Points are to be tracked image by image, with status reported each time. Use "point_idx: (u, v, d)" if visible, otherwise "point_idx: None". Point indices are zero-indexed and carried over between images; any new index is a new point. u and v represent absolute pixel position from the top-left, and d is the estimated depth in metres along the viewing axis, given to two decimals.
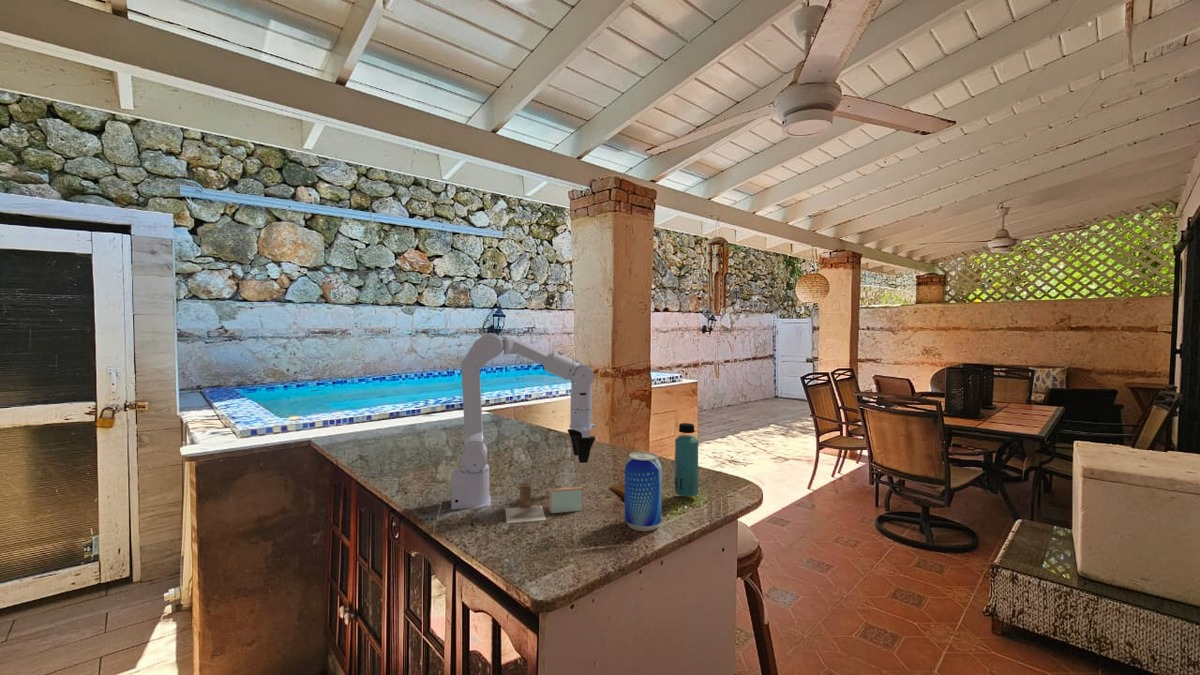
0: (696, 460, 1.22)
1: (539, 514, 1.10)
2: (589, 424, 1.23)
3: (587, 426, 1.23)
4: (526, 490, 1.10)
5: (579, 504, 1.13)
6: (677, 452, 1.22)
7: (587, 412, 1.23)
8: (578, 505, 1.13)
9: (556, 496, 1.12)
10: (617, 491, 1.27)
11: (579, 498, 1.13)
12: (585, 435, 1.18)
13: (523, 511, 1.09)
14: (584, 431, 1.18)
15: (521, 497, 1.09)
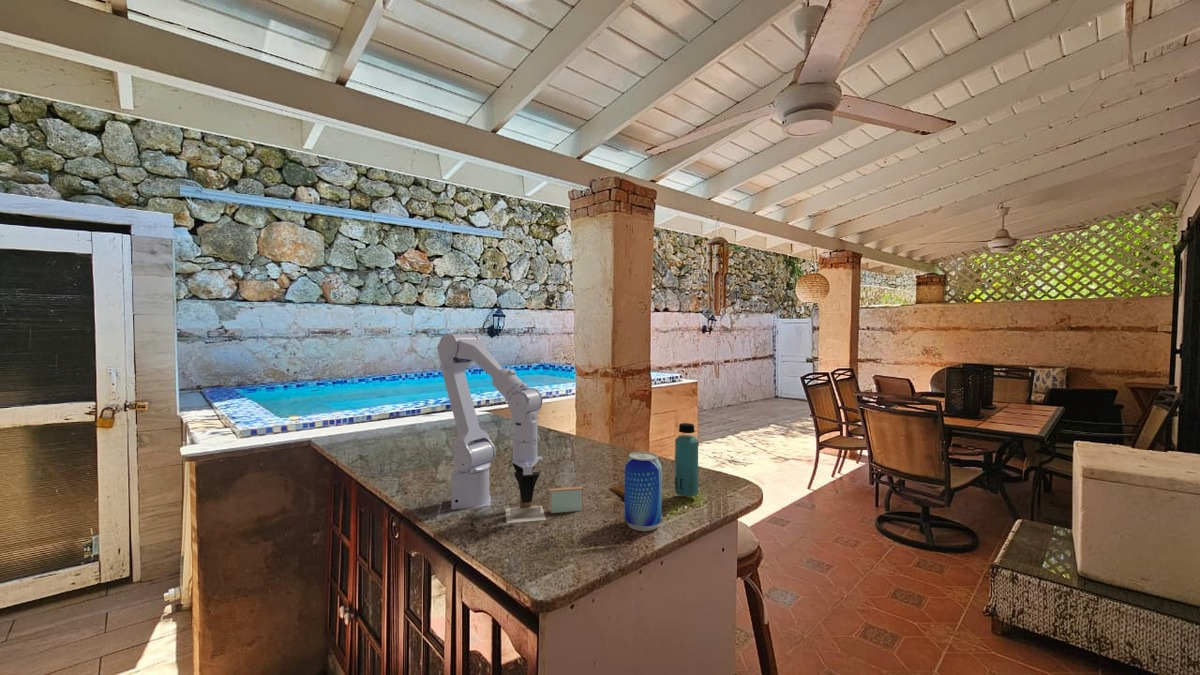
0: (696, 460, 1.22)
1: (539, 514, 1.10)
2: (534, 458, 1.09)
3: (531, 460, 1.08)
4: None
5: (579, 504, 1.13)
6: (677, 452, 1.22)
7: (531, 444, 1.09)
8: (578, 505, 1.13)
9: (556, 496, 1.12)
10: (617, 492, 1.27)
11: (579, 498, 1.13)
12: (526, 472, 1.04)
13: (523, 511, 1.09)
14: (525, 468, 1.04)
15: None
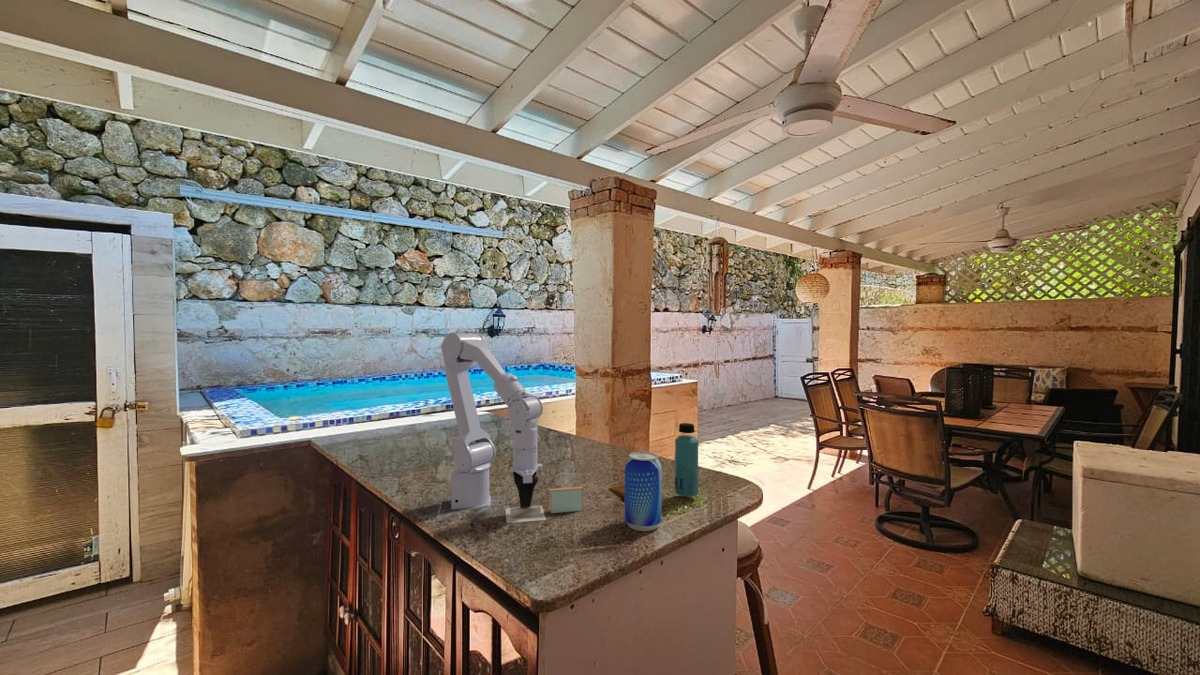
0: (696, 460, 1.22)
1: (539, 514, 1.10)
2: (534, 465, 1.09)
3: (531, 468, 1.08)
4: None
5: (579, 504, 1.13)
6: (677, 452, 1.22)
7: (531, 452, 1.09)
8: (578, 505, 1.13)
9: (556, 496, 1.12)
10: (618, 492, 1.26)
11: (579, 498, 1.13)
12: (526, 480, 1.04)
13: (523, 511, 1.09)
14: (525, 476, 1.04)
15: None
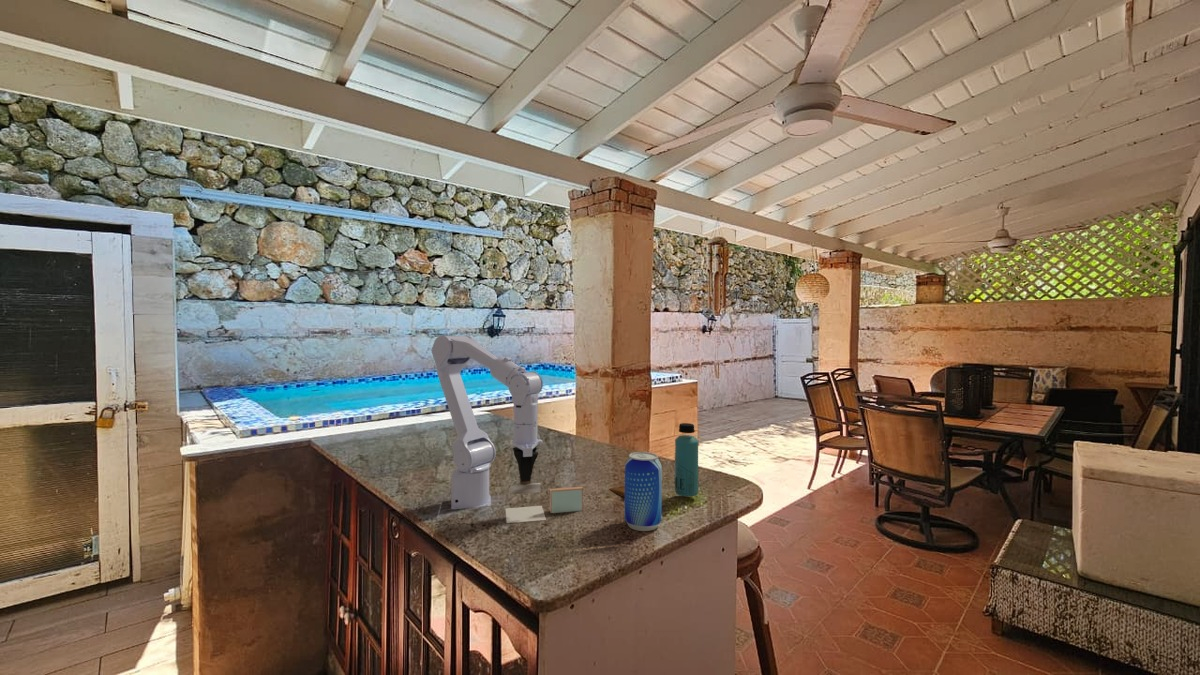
0: (696, 460, 1.22)
1: (539, 490, 1.10)
2: (534, 440, 1.09)
3: (531, 443, 1.08)
4: None
5: (579, 504, 1.13)
6: (677, 452, 1.22)
7: (531, 427, 1.08)
8: (578, 505, 1.13)
9: (556, 496, 1.12)
10: (619, 492, 1.26)
11: (579, 498, 1.13)
12: (526, 454, 1.04)
13: (523, 487, 1.09)
14: (525, 449, 1.04)
15: None
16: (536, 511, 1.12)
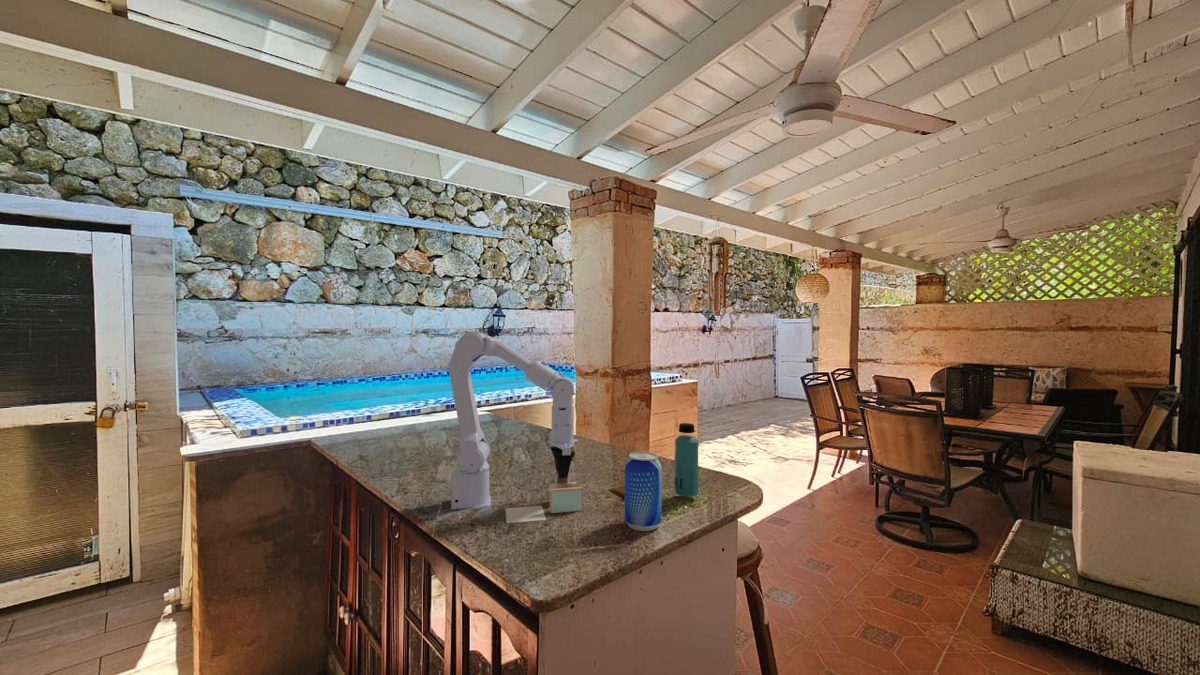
0: (696, 460, 1.22)
1: None
2: (571, 440, 1.18)
3: (568, 442, 1.17)
4: None
5: (579, 504, 1.13)
6: (677, 452, 1.22)
7: (568, 428, 1.17)
8: (578, 505, 1.13)
9: (556, 496, 1.12)
10: (619, 493, 1.26)
11: (579, 498, 1.13)
12: (566, 452, 1.13)
13: (561, 486, 1.18)
14: (564, 448, 1.13)
15: None
16: (536, 511, 1.12)
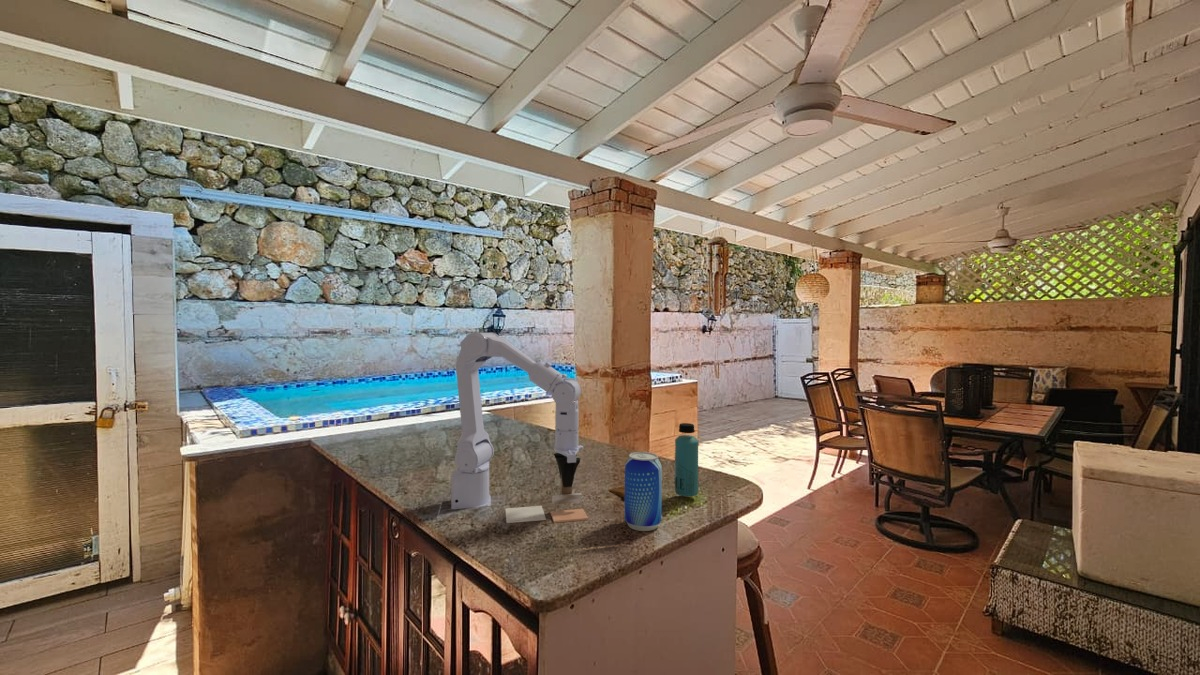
0: (696, 460, 1.22)
1: (580, 501, 1.12)
2: (576, 446, 1.11)
3: (573, 449, 1.11)
4: None
5: None
6: (677, 452, 1.22)
7: (573, 433, 1.11)
8: None
9: None
10: (619, 493, 1.25)
11: None
12: (570, 460, 1.06)
13: (565, 497, 1.11)
14: (569, 455, 1.06)
15: None
16: (536, 511, 1.12)
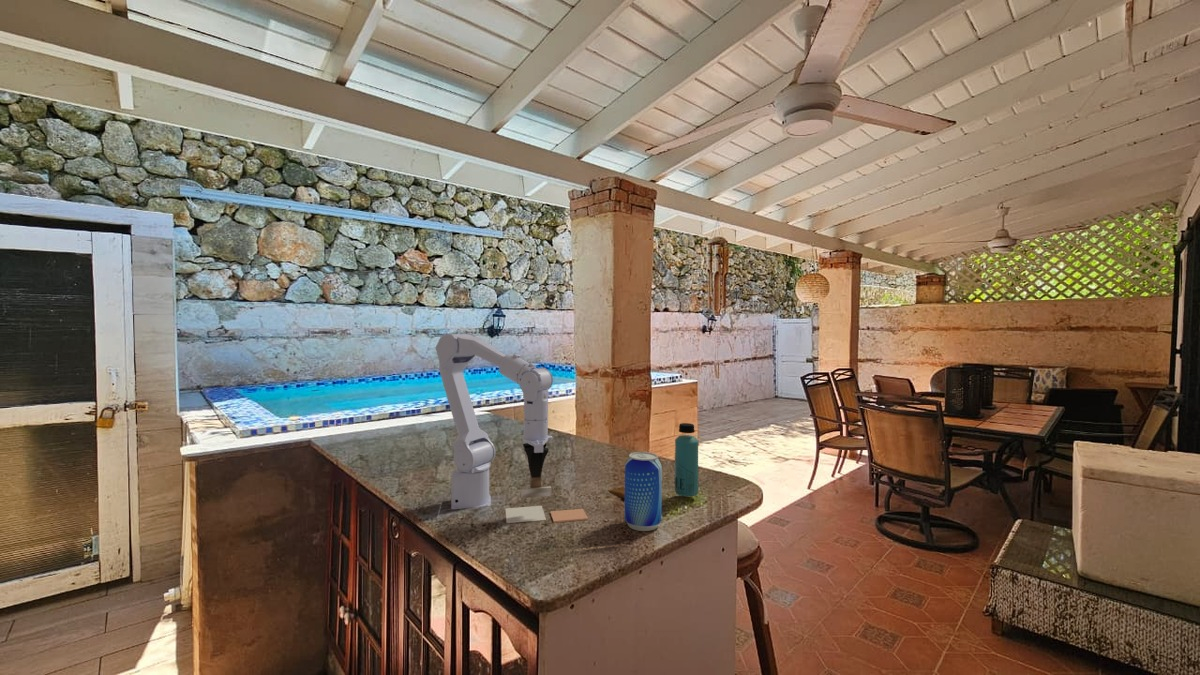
0: (696, 460, 1.22)
1: (550, 494, 1.10)
2: (544, 436, 1.09)
3: (542, 439, 1.09)
4: None
5: None
6: (677, 452, 1.22)
7: (542, 423, 1.09)
8: None
9: None
10: (619, 494, 1.25)
11: None
12: (537, 450, 1.04)
13: (534, 491, 1.09)
14: (536, 445, 1.04)
15: None
16: (536, 511, 1.12)
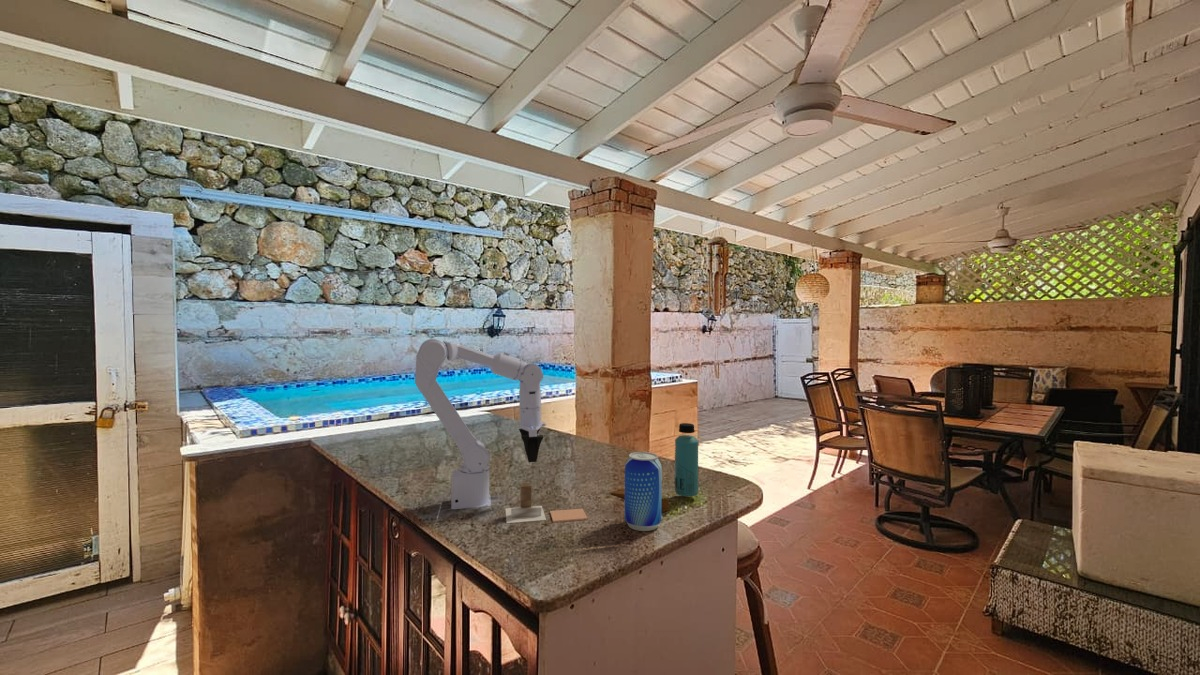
0: (696, 460, 1.22)
1: (540, 514, 1.10)
2: (538, 423, 1.22)
3: (536, 425, 1.22)
4: (526, 490, 1.10)
5: None
6: (677, 452, 1.22)
7: (535, 411, 1.22)
8: None
9: None
10: (623, 495, 1.24)
11: None
12: (532, 434, 1.17)
13: (524, 511, 1.09)
14: (531, 430, 1.17)
15: (522, 497, 1.09)
16: None
